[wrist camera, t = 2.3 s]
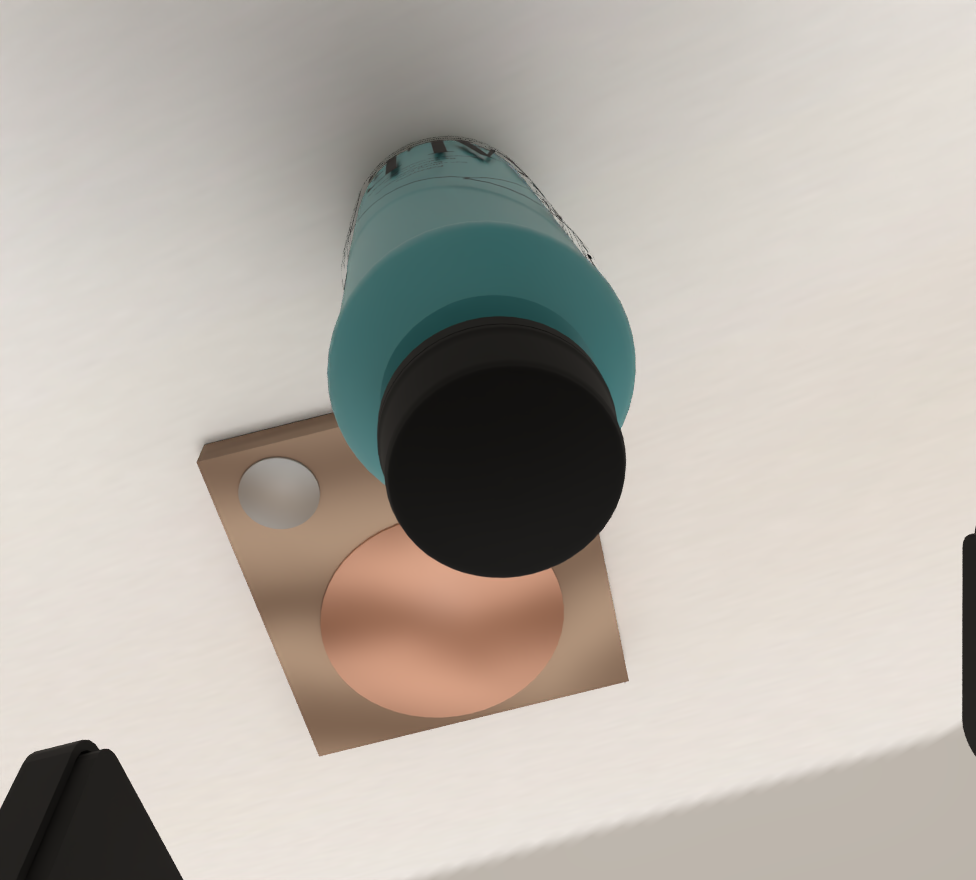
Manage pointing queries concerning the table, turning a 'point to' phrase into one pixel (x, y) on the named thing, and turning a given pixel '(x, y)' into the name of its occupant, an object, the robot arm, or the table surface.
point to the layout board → (394, 599)
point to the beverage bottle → (480, 364)
